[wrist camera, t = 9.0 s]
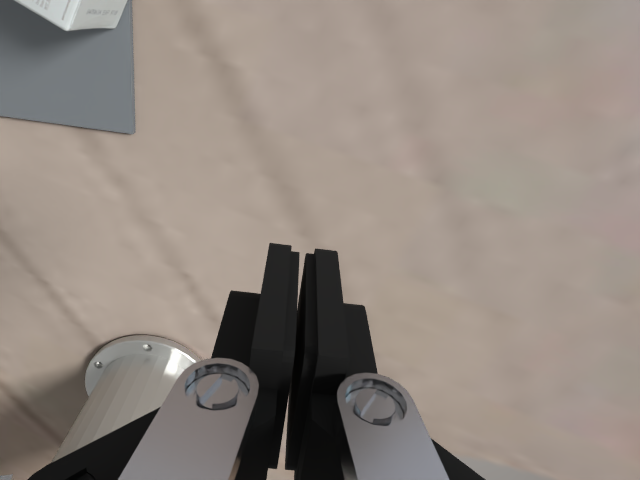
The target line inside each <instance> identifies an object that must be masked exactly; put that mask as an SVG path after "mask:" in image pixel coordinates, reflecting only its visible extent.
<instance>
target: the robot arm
mask: <svg viewBox="0 0 640 480" xmlns="http://www.w3.org/2000/svg"><path fill="white" fill-rule="evenodd" d="M298 274H299V252H292V251H291V246H290V245H282V244H274V243H270V244H269V250H268V256H267V261H266V267H265V273H264V278H263V284H262V290H261V294H257V293H248V292H239V291H230V294H229V298H228V301H227V305H226V308H225V311H224V315H223V318H222V322H221V325H220V329H219V332H218V336H217V339H216V343H215V346H214V350H213V353H212V357H211V359H205V360H202V361H201V359H199V358H198V357H197V356H196V355H195V354H194V353H193V352H192V351H190V350H189V349H187V348H186V347H184V346H183V345H180V344H178V343H176V342H174V341H172V340H168V339H165V338H161V337H156V336H149V335H134V336H128V337H122V338H120V339H117V340H114V341H112V342H110V343H108V344H107V345H105V346H103V347H102V348H101V349H100V350H99V351H98V352H97V353H96V354H95V356H94V357H93V359H92V360H91V362H90V363H89V365H88V368H87V370H86V374H85V389H86V392H87V394H88V397H89V398H88V399H87V401H86V403H85V404H84V406H83V408H82V410H81V411H80V413H79V415H78V417H77V418H76V420H75V422H74V424H73V425H72V427H71V429H70V431H69V432H68V434H67V436H66V437H65V439H64V441H63V443H62V444H61V446H60V448H59V450H58V451H57V453H56V455H55V457H54V458H53V460H52V462H51V463H50V464H48V465H47V466H45V467H44V468H42V469H41V470H39V471H37V472H36V473H34V474H33V475H32V476H31V477H30V478H29V479H28V480H266V478H267V471H268V468H272V469H277V465H278V459H279V453H280V446H281V440H282V434H283V427H284V421H285V415H286V408H287V402H288V395H289V403H288V422H287V440H286V458H285V470H295V473H294V480H485V479H484V478H482V477H481V476H480V475H478V474H477V473H476V472H475V471H473V470H472V469H471V468H469V467H468V466H467V465H465V464H464V463H463V462H461V461H460V460H459V459H457V458H456V457H455V456H453V455H452V454H451V453H449V452H448V451H447V450H446V449H444V448H443V447H442V446H440V445H439V444H438V443H436V442H435V441H434V440H432V439H431V438H430V436H429V434H428V431H427V429H426V427H425V425H424V423H423V420H422V418H421V416H420V414H419V412H418V409H417V407H416V405H415V403H414V401H413V399H412V397H411V396H410V394H409V393H408V391H407V390H406V389H405V388H403V387H402V386H401V385H400V384H399V383H397V382H396V381H394V380H392V379H390V378H389V377H386V376H382V375H379V374H378V373H377V368H376V363H375V357H374V352H373V347H372V341H371V336H370V331H369V325H368V320H367V315H366V310H365V307H364V306H363V305H354V304H345V303H343V296H342V287H341V279H340V270H339V261H338V253H337V251H331V250H323V249H315V251H314V254H309V253H306V256H305V262H304V269H303V276H302V282H301V289H300V295H299V302H298V309H297V297H298ZM0 480H14V478H13V474H12V475H3V476H0Z"/></svg>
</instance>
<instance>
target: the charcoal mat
mask: <svg viewBox="0 0 640 480" xmlns="http://www.w3.org/2000/svg"><path fill="white" fill-rule="evenodd" d="M0 116H5V117H12V118H19V119H27V120H34V121H41V122H48V123H55V124H63V125H70V126H77V127H84V128H92V129H99V130H106V131H113V132H120V133H128V134H134V133H135V99H134V62H133V26H132V0H127V3H126V5H125V7H124V10H123V12H122V15H121V17H120V20H119V22H118V24H117V26H116V28H113V29H109V28H92V29H80V30H72V31H65V30H63V29H61V28H60V27H58V26H56V25H55V24H53V23H51V22H50V21H48V20H46V19H45V18H43V17H41V16H40V15H38V14H36V13H35V12H33V11H31V10H29V9H28V8H26V7H24V6H23V5H21V4H19V3H18V2H16V1H14V0H0Z"/></svg>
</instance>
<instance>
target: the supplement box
mask: <svg viewBox="0 0 640 480" xmlns="http://www.w3.org/2000/svg"><path fill="white" fill-rule="evenodd" d="M14 1H16V2H18V3H19V4H21V5H23V6H24V7H26V8H28V9H29V10H31V11H33V12H35V13H36V14H38V15H40V16H41V17H43V18H45V19H46V20H48V21H50V22H51V23H53V24H55V25H56V26H58V27H60V28H61V29H63V30H65V31H72V30H80V29H92V28H109V29H113V28H116V26H117V24H118V22H119V20H120V17H121V15H122V12H123V10H124V7H125V5H126V3H127V0H14Z"/></svg>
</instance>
